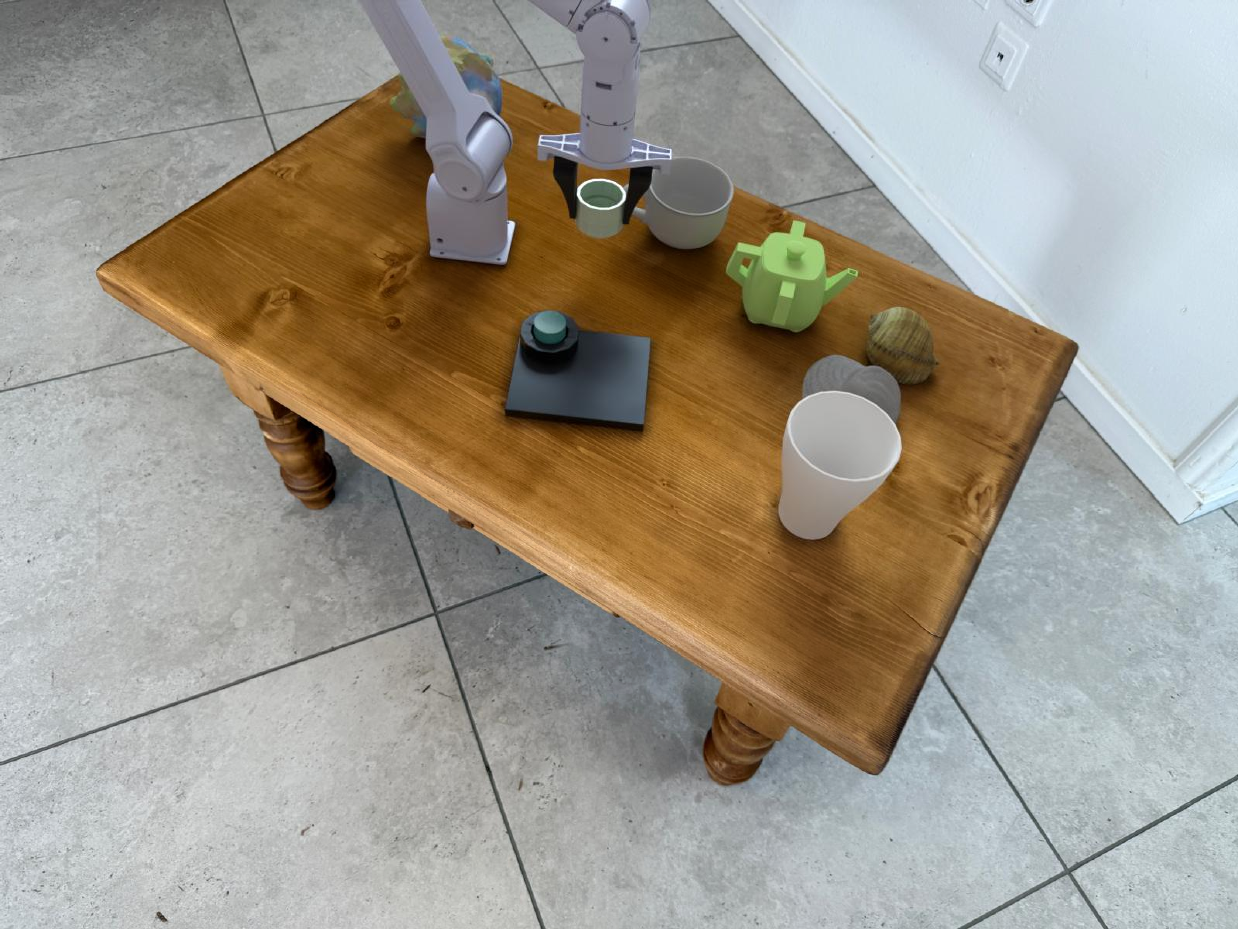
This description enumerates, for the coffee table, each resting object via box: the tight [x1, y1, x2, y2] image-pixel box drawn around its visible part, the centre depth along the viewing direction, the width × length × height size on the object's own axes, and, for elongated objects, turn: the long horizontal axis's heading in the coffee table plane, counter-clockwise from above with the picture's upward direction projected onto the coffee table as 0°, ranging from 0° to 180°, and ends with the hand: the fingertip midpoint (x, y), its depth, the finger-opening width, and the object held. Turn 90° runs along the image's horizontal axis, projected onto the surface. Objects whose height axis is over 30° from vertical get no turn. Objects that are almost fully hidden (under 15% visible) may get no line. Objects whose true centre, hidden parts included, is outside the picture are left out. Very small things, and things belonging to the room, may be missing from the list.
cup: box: [778, 391, 903, 541], centre depth 85 cm, size 10×10×14 cm
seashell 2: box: [865, 306, 940, 386], centre depth 103 cm, size 10×7×8 cm
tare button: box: [534, 310, 566, 345], centre depth 99 cm, size 4×4×2 cm
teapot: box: [725, 220, 859, 333], centre depth 105 cm, size 12×12×10 cm
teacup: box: [623, 156, 735, 250], centre depth 112 cm, size 14×11×8 cm
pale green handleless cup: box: [574, 178, 626, 240], centre depth 102 cm, size 6×6×4 cm
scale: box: [504, 309, 652, 432], centre depth 98 cm, size 15×14×3 cm
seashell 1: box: [801, 354, 902, 426], centre depth 97 cm, size 12×6×10 cm
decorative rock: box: [389, 34, 503, 140], centre depth 119 cm, size 14×16×15 cm
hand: (600, 216), depth 103 cm, fingers closed on pale green handleless cup, 5 cm apart
